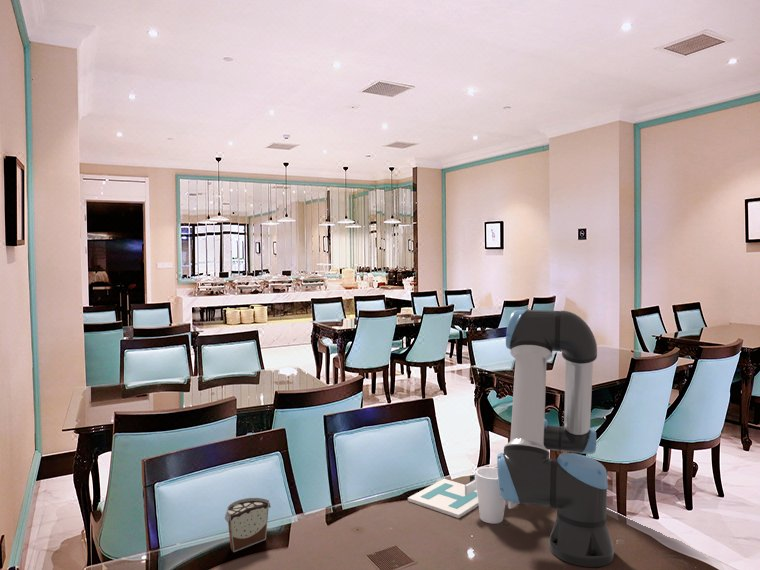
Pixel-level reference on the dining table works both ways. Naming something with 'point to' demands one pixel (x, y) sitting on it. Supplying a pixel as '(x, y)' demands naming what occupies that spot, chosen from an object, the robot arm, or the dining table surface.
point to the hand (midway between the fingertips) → (487, 496)
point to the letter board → (446, 498)
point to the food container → (247, 522)
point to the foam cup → (489, 495)
